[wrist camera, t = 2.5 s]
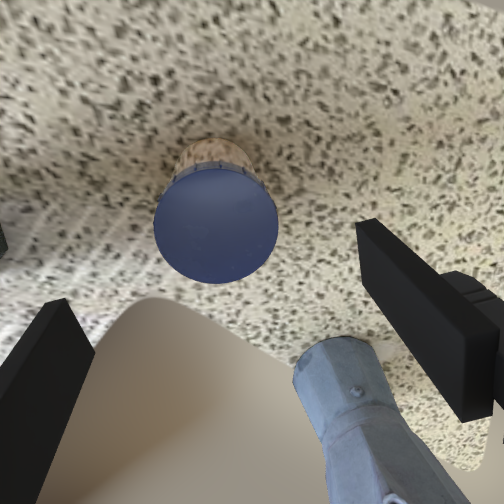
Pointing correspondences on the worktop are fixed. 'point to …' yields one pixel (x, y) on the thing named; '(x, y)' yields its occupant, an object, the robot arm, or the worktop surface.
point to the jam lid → (215, 222)
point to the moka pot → (366, 430)
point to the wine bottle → (2, 243)
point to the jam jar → (212, 154)
